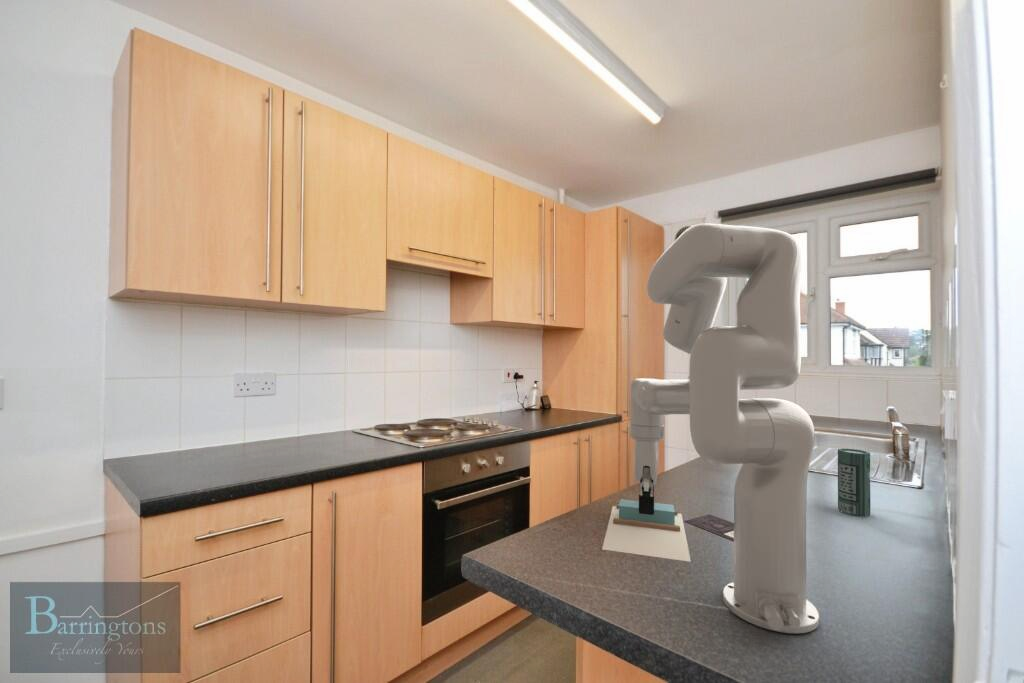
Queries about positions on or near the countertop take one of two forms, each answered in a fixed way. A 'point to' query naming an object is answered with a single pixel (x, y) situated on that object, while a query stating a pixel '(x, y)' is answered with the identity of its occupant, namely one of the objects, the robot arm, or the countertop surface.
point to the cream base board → (647, 537)
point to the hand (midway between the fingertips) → (646, 506)
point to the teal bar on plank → (661, 514)
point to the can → (854, 482)
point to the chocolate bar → (714, 525)
